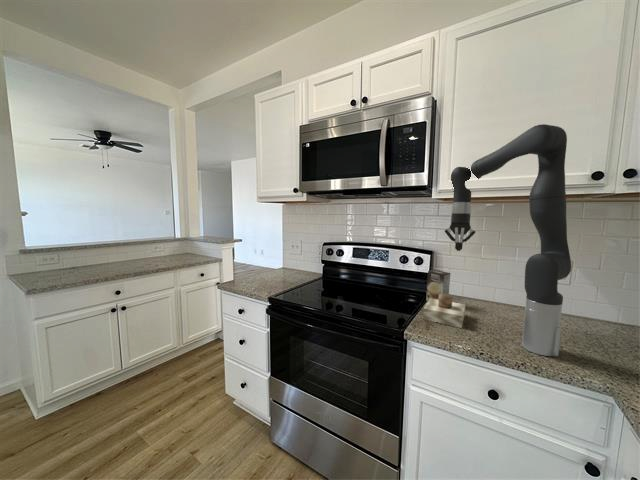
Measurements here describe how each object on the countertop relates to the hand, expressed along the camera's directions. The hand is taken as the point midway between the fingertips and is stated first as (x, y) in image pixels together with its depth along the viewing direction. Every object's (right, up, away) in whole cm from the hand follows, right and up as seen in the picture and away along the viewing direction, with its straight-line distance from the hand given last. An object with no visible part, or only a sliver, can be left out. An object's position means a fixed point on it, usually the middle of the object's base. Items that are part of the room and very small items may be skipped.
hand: (458, 250), depth 120 cm
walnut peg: (-8, -29, -4) cm, 30 cm away
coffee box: (-3, -28, +16) cm, 32 cm away
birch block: (-8, -30, -4) cm, 31 cm away
